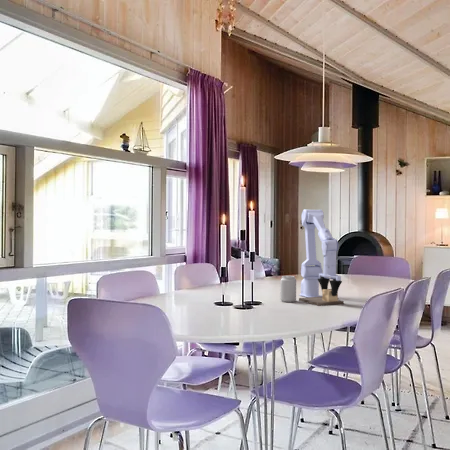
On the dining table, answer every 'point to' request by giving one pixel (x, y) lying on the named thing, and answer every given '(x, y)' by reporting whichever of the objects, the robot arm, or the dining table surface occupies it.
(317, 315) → the dining table surface
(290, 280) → the can
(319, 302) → the serving board
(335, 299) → the oak block
